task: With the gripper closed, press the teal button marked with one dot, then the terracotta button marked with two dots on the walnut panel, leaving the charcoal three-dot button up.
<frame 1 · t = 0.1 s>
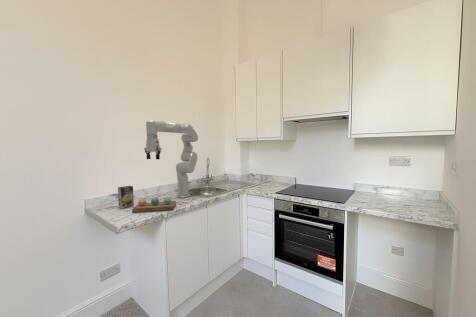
hand: (153, 159, 160), 37 cm above the countertop, tool pointing down, fingers open, 9 cm apart
coffee box: (126, 207, 163), on the countertop
button charcoal three: (154, 201, 156), point 6 cm above the countertop, slide at 0.0 cm
button teal one: (167, 200, 157), point 6 cm above the countertop, slide at 0.0 cm
button panel: (155, 208, 157), on the countertop
button terracotta two: (142, 201, 155), point 6 cm above the countertop, slide at 0.0 cm
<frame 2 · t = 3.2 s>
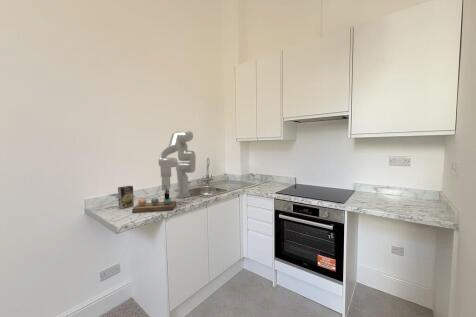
hand: (167, 198, 157), 7 cm above the countertop, tool pointing down, fingers closed
button teal one: (167, 200, 157), point 6 cm above the countertop, slide at 0.4 cm, touching gripper
everything else where it was.
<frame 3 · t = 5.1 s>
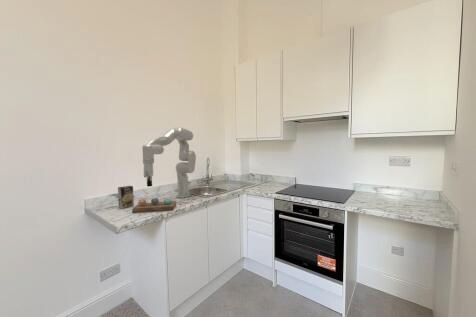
hand: (149, 186, 154), 18 cm above the countertop, tool pointing down, fingers closed
button teal one: (167, 201, 157), point 5 cm above the countertop, slide at 1.2 cm
everything else where it was.
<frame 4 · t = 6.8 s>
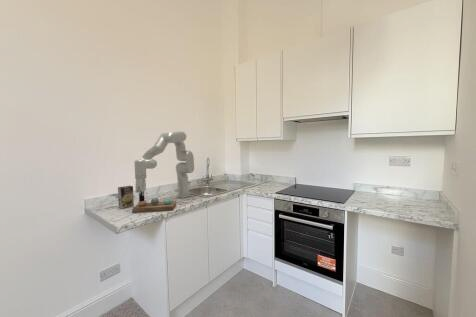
hand: (141, 200, 155), 7 cm above the countertop, tool pointing down, fingers closed
button terracotta two: (142, 202, 155), point 5 cm above the countertop, slide at 0.7 cm, touching gripper
everything else where it was.
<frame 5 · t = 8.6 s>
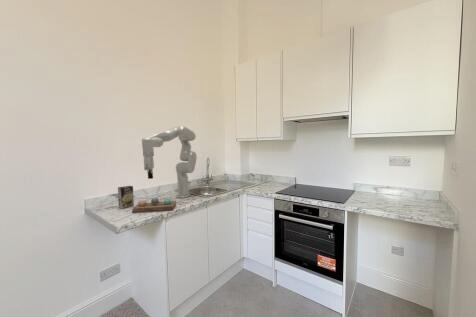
hand: (150, 178, 159), 23 cm above the countertop, tool pointing down, fingers closed
button terracotta two: (142, 203, 155), point 5 cm above the countertop, slide at 1.1 cm
everything else where it was.
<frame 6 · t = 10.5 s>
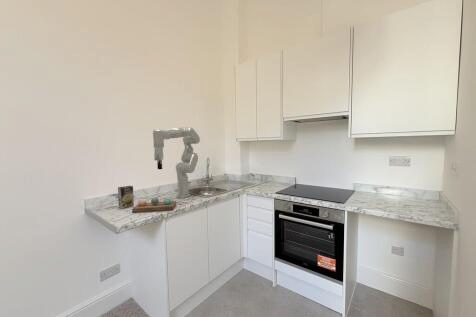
hand: (159, 169, 163), 29 cm above the countertop, tool pointing down, fingers closed
nothing on the countertop moved.
at the end: button teal one slide at 1.2 cm; button terracotta two slide at 1.1 cm; button charcoal three slide at 0.0 cm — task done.
